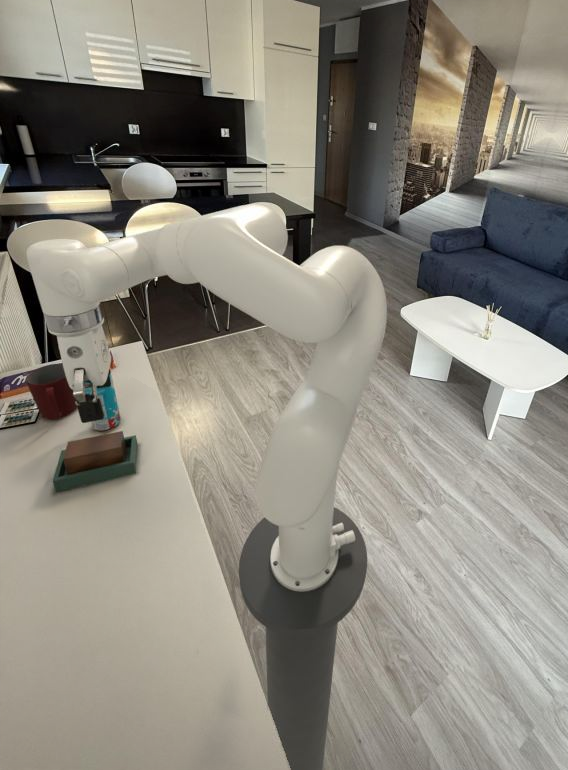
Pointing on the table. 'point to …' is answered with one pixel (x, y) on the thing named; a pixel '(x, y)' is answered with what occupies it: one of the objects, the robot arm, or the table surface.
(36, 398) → the mug
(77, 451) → the walnut box
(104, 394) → the beverage can
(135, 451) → the tray
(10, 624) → the table surface
